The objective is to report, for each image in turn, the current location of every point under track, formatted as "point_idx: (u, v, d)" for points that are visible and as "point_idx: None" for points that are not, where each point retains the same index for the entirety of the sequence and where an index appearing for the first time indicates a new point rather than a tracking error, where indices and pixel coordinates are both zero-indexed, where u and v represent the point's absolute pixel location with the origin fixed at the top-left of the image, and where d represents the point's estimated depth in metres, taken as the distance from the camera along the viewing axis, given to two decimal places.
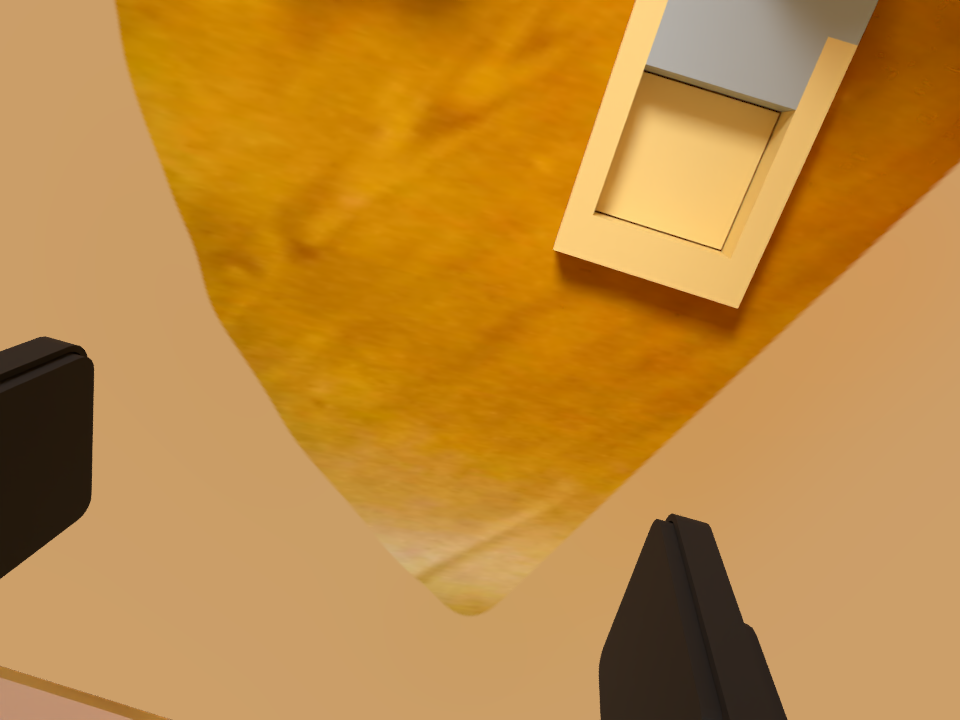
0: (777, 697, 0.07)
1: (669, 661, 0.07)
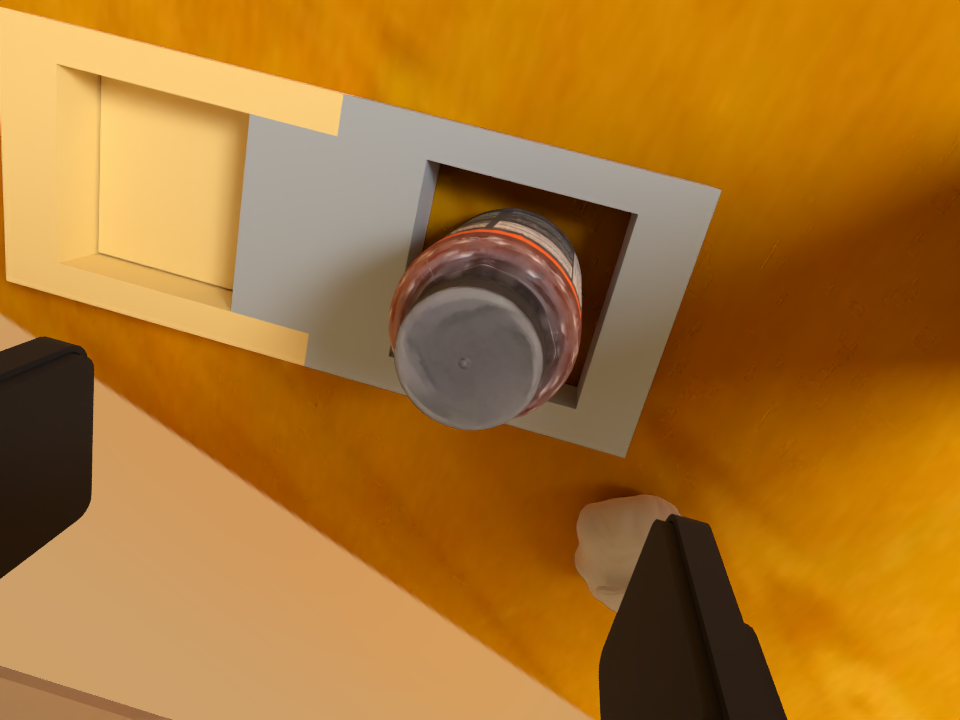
0: (777, 697, 0.07)
1: (669, 661, 0.07)
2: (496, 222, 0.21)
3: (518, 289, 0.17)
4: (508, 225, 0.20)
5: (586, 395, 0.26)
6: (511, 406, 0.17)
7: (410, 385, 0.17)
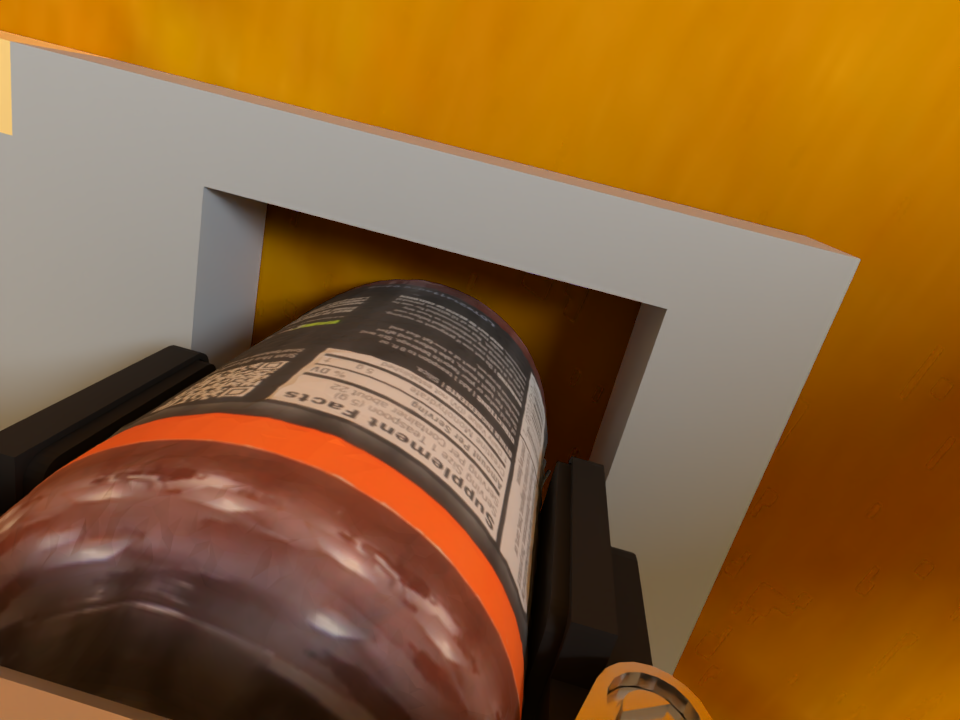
0: (642, 606, 0.08)
1: (544, 573, 0.08)
2: (310, 358, 0.08)
3: (260, 710, 0.05)
4: (330, 375, 0.07)
5: None
6: None
7: None
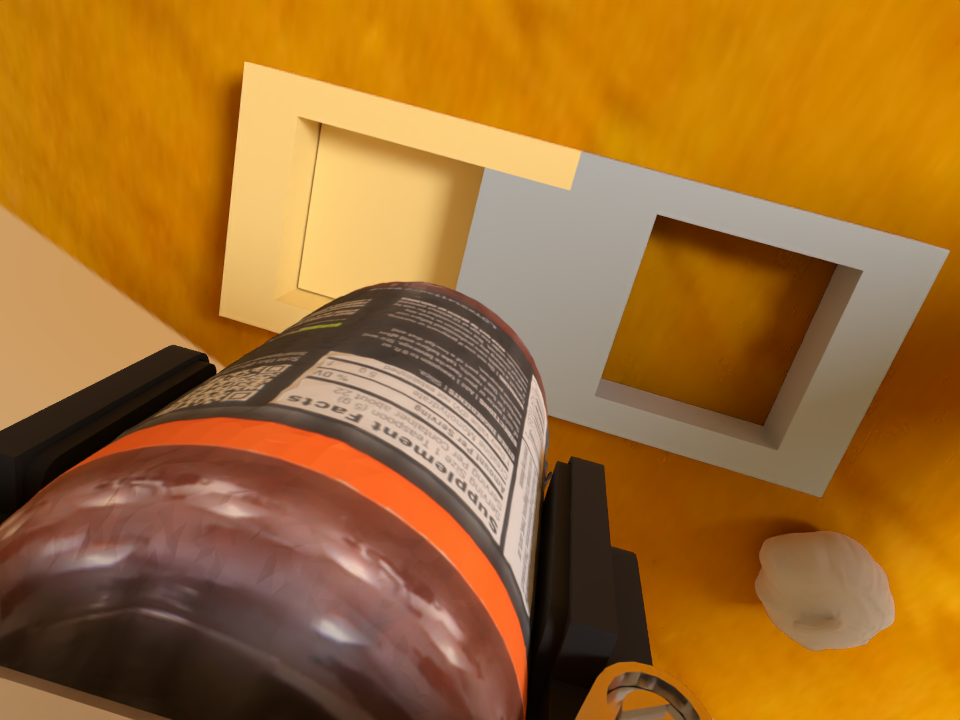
0: (642, 606, 0.08)
1: (544, 573, 0.08)
2: (312, 362, 0.08)
3: (265, 718, 0.05)
4: (333, 379, 0.07)
5: (790, 438, 0.27)
6: None
7: None
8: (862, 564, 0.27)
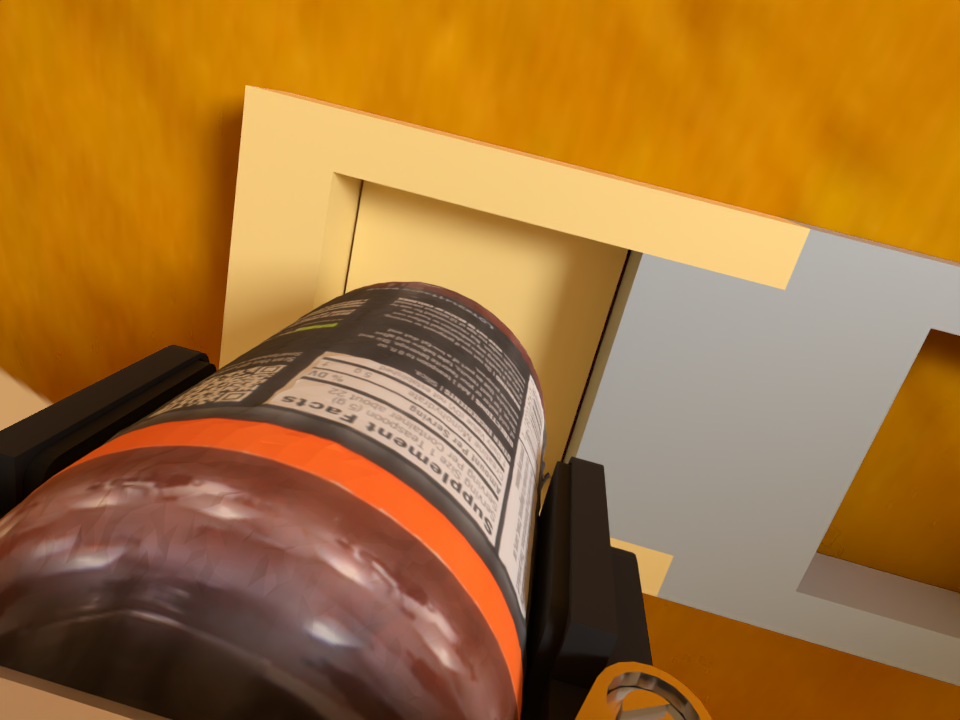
0: (642, 606, 0.08)
1: (544, 573, 0.08)
2: (308, 362, 0.08)
3: None
4: (328, 379, 0.07)
5: None
6: None
7: None
8: None
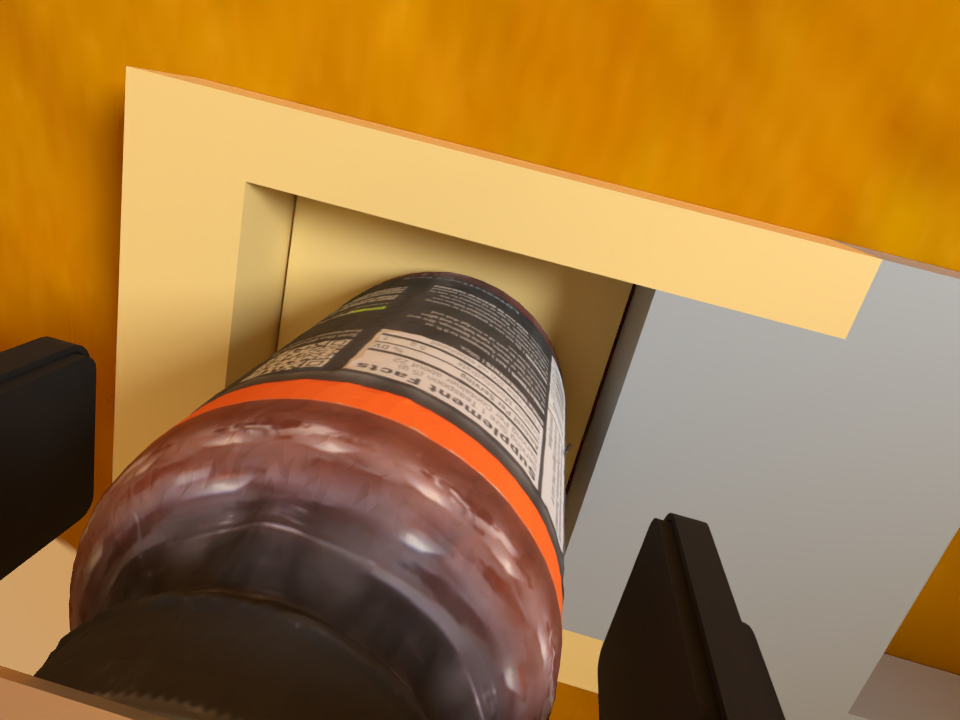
0: (775, 695, 0.07)
1: (667, 659, 0.07)
2: (369, 337, 0.09)
3: (368, 606, 0.06)
4: (391, 350, 0.09)
5: None
6: None
7: None
8: None
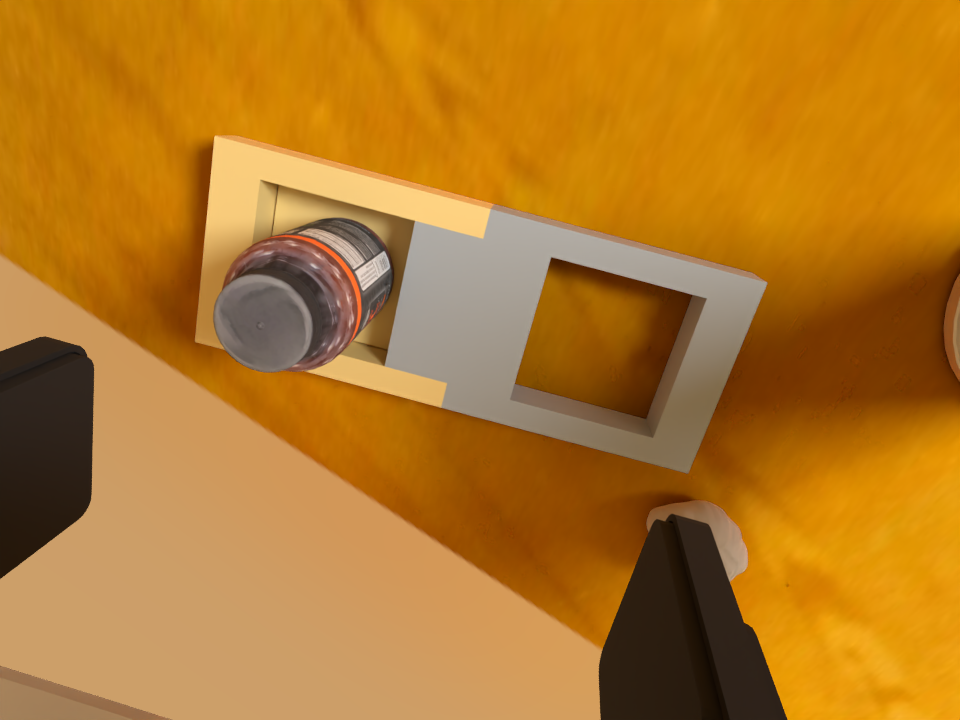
0: (777, 697, 0.07)
1: (669, 661, 0.07)
2: (305, 229, 0.29)
3: (301, 276, 0.25)
4: (311, 231, 0.28)
5: (661, 427, 0.34)
6: (293, 355, 0.25)
7: (225, 341, 0.25)
8: (720, 524, 0.35)
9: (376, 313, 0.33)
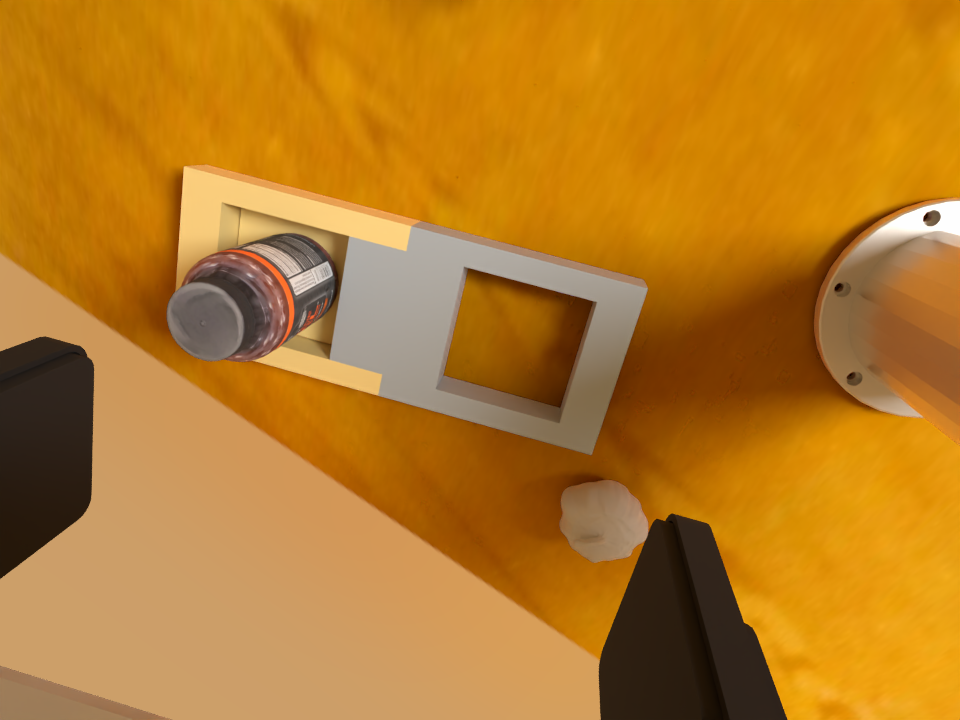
0: (777, 697, 0.07)
1: (669, 661, 0.07)
2: (251, 244, 0.35)
3: (238, 283, 0.31)
4: (255, 246, 0.34)
5: (566, 414, 0.39)
6: (230, 347, 0.31)
7: (176, 336, 0.31)
8: (619, 499, 0.40)
9: (319, 314, 0.39)
